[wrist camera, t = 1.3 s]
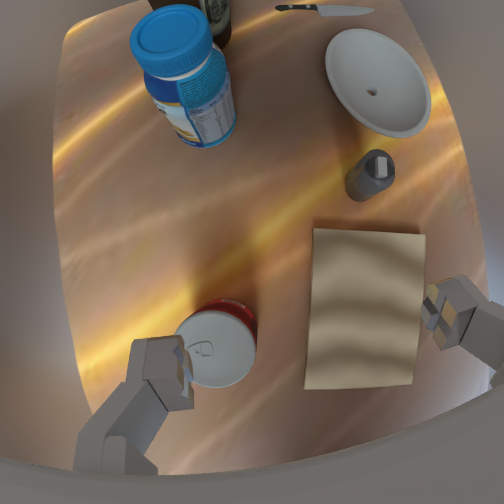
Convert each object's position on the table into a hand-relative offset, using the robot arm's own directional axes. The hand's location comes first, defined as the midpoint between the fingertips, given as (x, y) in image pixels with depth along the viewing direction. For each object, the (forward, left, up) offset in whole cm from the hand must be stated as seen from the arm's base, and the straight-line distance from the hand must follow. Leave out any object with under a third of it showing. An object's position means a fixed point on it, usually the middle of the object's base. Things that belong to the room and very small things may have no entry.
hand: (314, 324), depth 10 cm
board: (-10, -7, -30) cm, 32 cm away
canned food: (-2, +9, -30) cm, 32 cm away
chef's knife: (+30, -31, -31) cm, 53 cm away
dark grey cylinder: (+4, -15, -30) cm, 34 cm away
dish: (+14, -25, -30) cm, 42 cm away
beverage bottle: (+22, -3, -30) cm, 37 cm away
